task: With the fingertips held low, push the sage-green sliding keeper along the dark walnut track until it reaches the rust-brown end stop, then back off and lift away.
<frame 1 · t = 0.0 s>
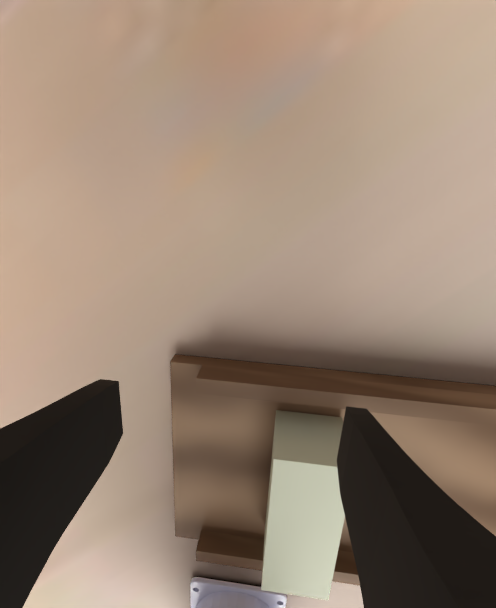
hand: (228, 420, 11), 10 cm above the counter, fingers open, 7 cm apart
keeper: (301, 503, 20), point 3 cm above the counter, slide at 14.0 cm
track: (377, 472, 23), on the counter
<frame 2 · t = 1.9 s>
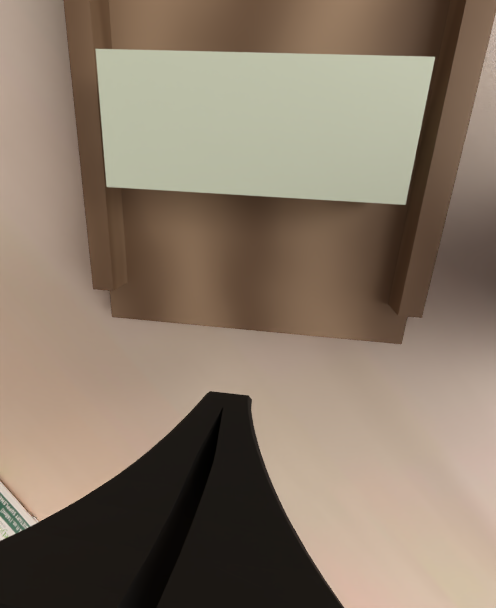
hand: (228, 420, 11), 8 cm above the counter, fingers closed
keeper: (258, 137, 12), point 3 cm above the counter, slide at 14.0 cm
track: (273, 4, 14), on the counter
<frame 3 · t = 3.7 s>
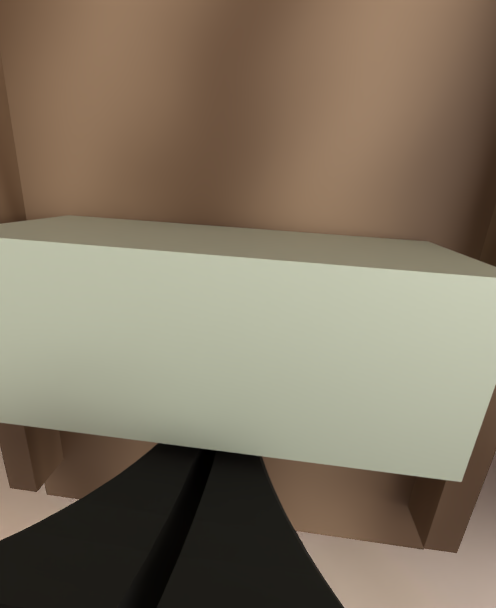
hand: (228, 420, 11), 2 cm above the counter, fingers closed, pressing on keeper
keeper: (225, 321, 8), point 3 cm above the counter, slide at 13.3 cm, touching gripper
track: (250, 128, 10), on the counter
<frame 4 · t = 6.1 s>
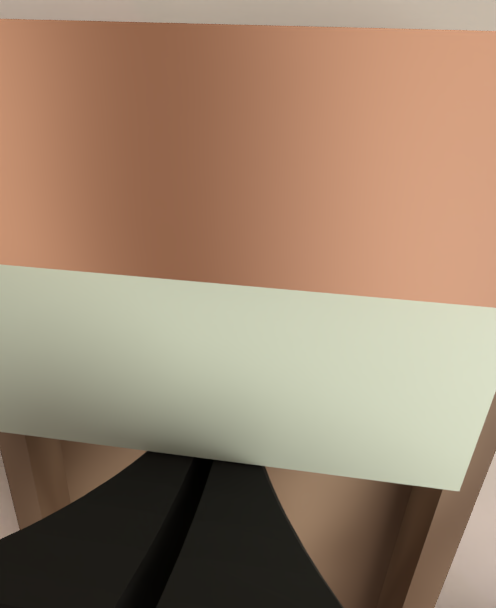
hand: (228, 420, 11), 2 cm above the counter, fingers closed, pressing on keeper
keeper: (224, 329, 8), point 3 cm above the counter, slide at -0.3 cm, touching gripper, track
track: (230, 494, 14), on the counter
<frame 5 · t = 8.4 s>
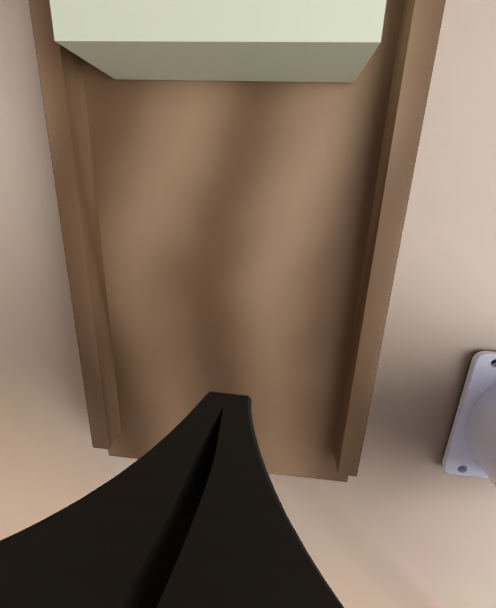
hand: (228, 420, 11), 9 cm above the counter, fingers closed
track: (231, 240, 17), on the counter
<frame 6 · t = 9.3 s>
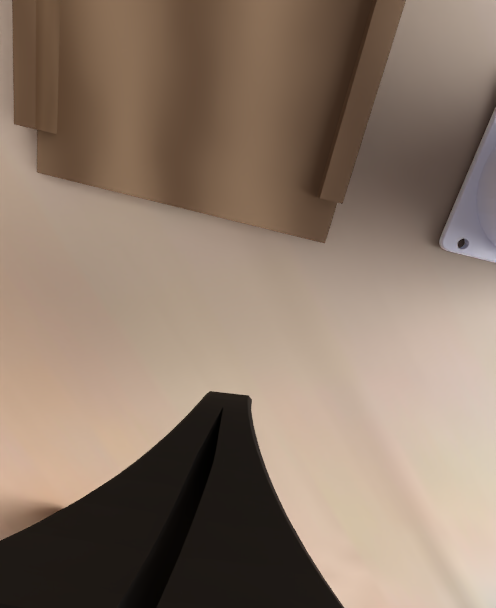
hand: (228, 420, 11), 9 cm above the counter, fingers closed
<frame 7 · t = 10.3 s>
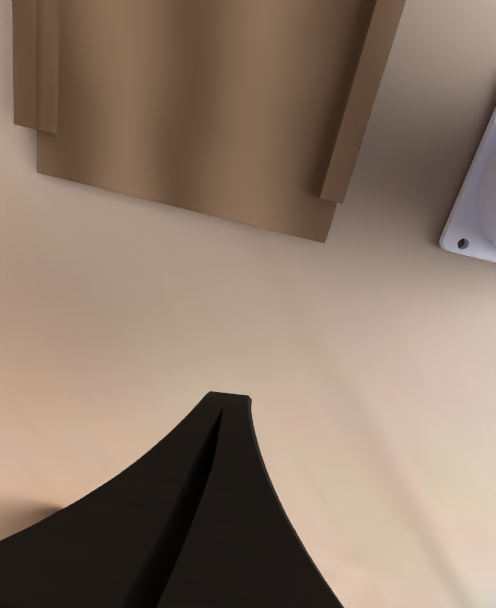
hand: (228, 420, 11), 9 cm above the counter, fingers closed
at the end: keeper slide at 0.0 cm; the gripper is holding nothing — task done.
